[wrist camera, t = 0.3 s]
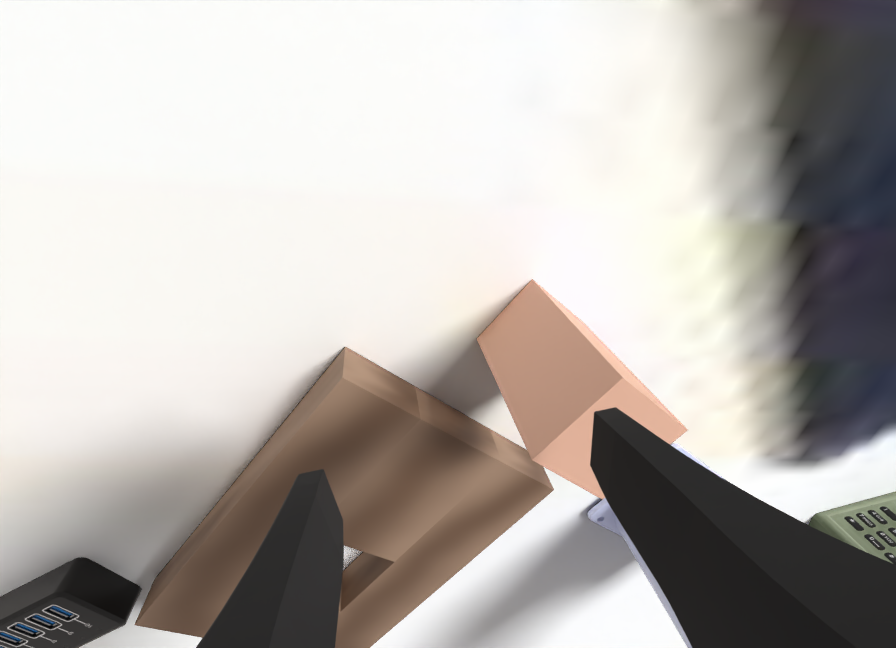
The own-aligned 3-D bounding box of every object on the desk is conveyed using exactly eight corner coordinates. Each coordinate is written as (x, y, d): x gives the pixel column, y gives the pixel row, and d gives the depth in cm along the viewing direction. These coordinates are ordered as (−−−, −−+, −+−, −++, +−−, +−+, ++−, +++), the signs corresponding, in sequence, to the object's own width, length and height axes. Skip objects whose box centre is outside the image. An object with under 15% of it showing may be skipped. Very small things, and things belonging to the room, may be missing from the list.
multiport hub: (147, 582, 25) (129, 624, 23) (-36, 673, 27) (-69, 720, 25) (85, 549, 23) (59, 591, 21) (-112, 649, 24) (-155, 698, 22)
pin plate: (538, 456, 25) (553, 489, 23) (350, 624, 31) (349, 664, 29) (345, 346, 19) (342, 377, 17) (154, 579, 25) (134, 625, 23)
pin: (583, 322, 21) (688, 430, 14) (529, 375, 22) (602, 499, 15) (532, 278, 19) (623, 377, 13) (476, 338, 21) (531, 459, 14)
